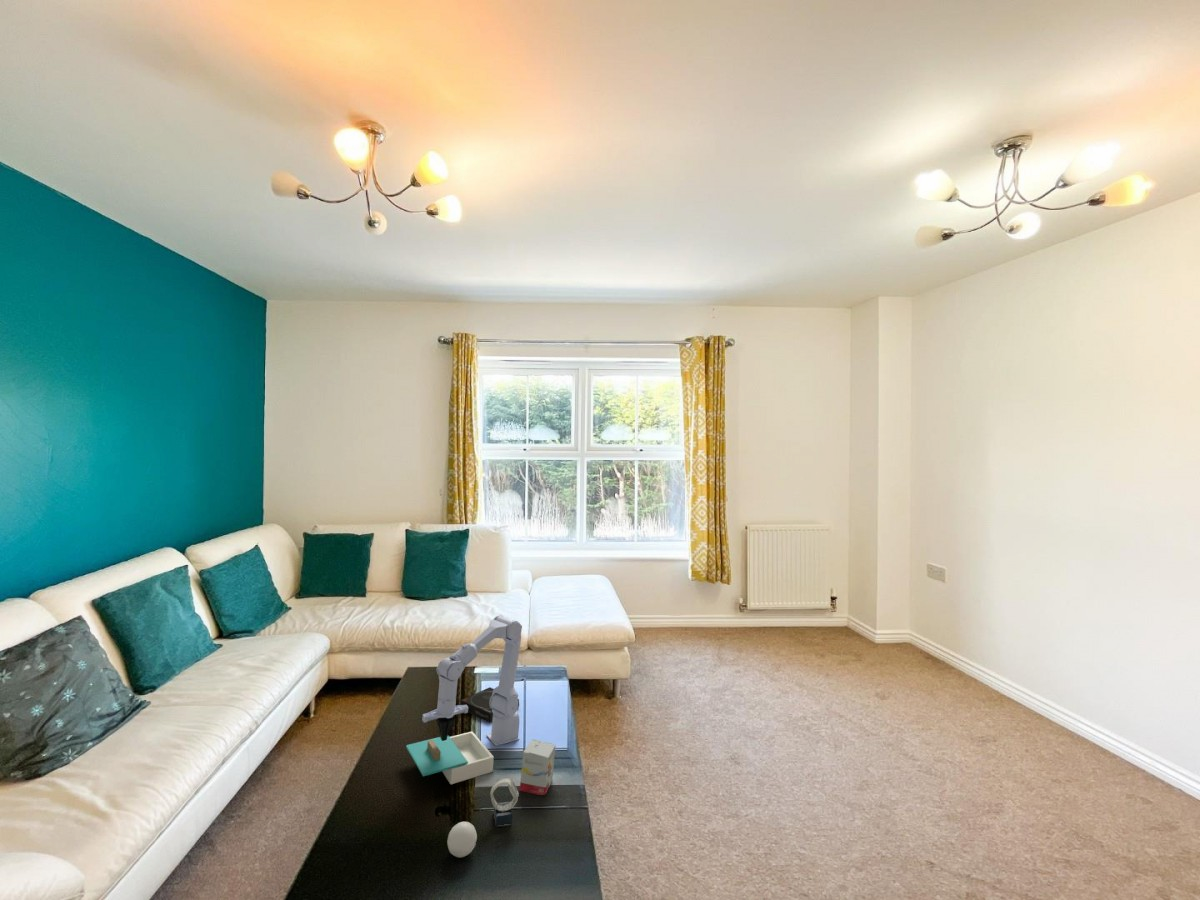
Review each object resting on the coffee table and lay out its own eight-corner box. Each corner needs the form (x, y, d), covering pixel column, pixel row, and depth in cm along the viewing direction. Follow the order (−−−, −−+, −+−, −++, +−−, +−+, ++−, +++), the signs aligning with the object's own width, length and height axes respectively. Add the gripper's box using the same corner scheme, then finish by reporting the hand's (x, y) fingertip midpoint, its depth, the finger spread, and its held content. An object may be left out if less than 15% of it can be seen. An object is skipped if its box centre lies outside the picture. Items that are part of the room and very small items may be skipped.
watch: (518, 824, 144) (521, 784, 144) (489, 828, 141) (492, 788, 141) (515, 811, 149) (518, 772, 149) (487, 815, 146) (490, 775, 147)
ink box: (545, 796, 157) (548, 757, 157) (518, 790, 158) (522, 751, 159) (553, 780, 165) (556, 742, 165) (528, 774, 167) (531, 738, 167)
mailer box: (471, 744, 181) (472, 731, 182) (492, 771, 167) (493, 756, 167) (431, 755, 173) (433, 741, 173) (450, 784, 159) (452, 769, 159)
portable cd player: (519, 708, 212) (519, 698, 212) (489, 724, 197) (490, 713, 198) (490, 696, 221) (490, 686, 221) (459, 710, 206) (460, 700, 206)
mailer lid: (447, 736, 176) (448, 727, 176) (467, 763, 162) (468, 753, 162) (406, 747, 168) (406, 737, 168) (423, 776, 153) (424, 766, 154)
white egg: (475, 863, 129) (478, 833, 129) (444, 866, 127) (447, 835, 127) (476, 835, 138) (479, 807, 139) (448, 837, 137) (450, 808, 137)
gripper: (428, 706, 160) (425, 751, 159) (473, 697, 168) (469, 739, 168) (421, 697, 165) (418, 740, 165) (464, 688, 174) (461, 729, 174)
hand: (443, 739), depth 167 cm, fingers closed
